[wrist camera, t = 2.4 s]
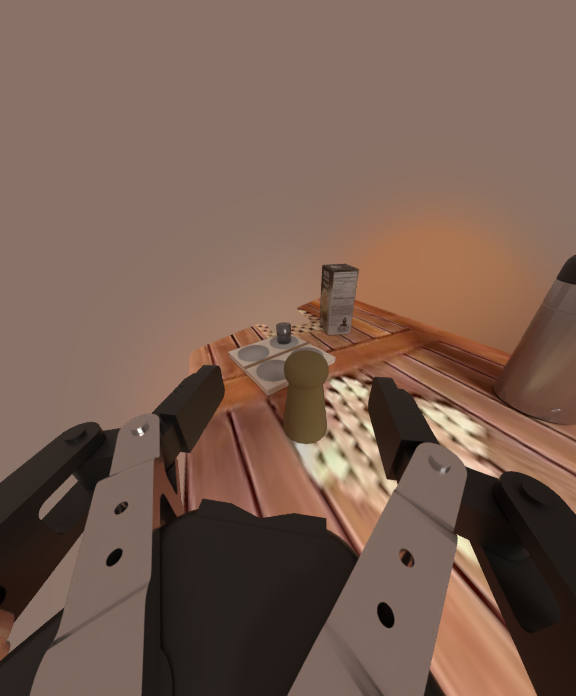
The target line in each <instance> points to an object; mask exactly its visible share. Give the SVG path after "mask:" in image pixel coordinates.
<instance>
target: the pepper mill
mask: <svg viewBox="0 0 576 696" xmlns="http://www.w3.org/2000/svg"><path fill="white" fill-rule="evenodd" d="M328 371H329V367H328V363H327V361H326V359H325V358H324V356H322V355H321V354H319V353H317V352H314V351H310V350H302V351H297V352H294V353H292V354H290V355H289V356H288V358H287V359H286V361H285V364H284V375H285V378H286V380H287V382H288V390H287V398H286V406H285V413H284V421H283V428H284V431H285V433H286V435H287V436H288V437H289V438H290V439H292V440H293V441H296V442H298V443H303V444H309V443H314V442H316V441H318V440H320V439H321V438H322V437H323V436H324V435H325V433H326V430H327V421H326V410H325V400H324V389H323V384H324V383H325V381H326V379H327V377H328Z"/></svg>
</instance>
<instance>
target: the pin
mask: <svg viewBox="0 0 576 696" xmlns="http://www.w3.org/2000/svg"><path fill="white" fill-rule="evenodd" d="M276 327H277V328H276V329H277V342H278V343H279V344H282V345H285V344H289V343H290V342H291V325H290V324H289V323H279V324H277V325H276Z"/></svg>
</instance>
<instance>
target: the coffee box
mask: <svg viewBox="0 0 576 696" xmlns="http://www.w3.org/2000/svg"><path fill="white" fill-rule="evenodd" d="M358 272H359V269H357V268H355V267H352V266H350V265H347V264H333V265H323V266H322V283H321V302H320V324H321V325H322V327H323V329H324V330H325V332H326V333H327V335H338V334H350V330H351V322H352V315H353V308H354V301H355V293H356V287H357V279H358Z"/></svg>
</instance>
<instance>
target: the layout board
mask: <svg viewBox="0 0 576 696" xmlns="http://www.w3.org/2000/svg"><path fill="white" fill-rule="evenodd" d="M302 350H310V351H314V352H317V353H319V354H321V355H322V356H324V358H325V359H326V361H327V363H328V366H329V365H331V364H333V363H335V357H334V356H332V355H330V354H328V353H326V352H324V351H322V350H321V349H319V348H317V347H315V346H313V345H311V344H310V343H309V342H306V341H304V340H302V339H300V338H298V337H296V336H294V335H292V334H291V342H290V343H289V344H285V345H282V344H279V343H278V342H277V336H274V337H271V338H268V339H265V340H262V341H259V342H256V343H253V344H250V345H247V346H244V347H241V348H238V349H235V350H232V351H229V352H228V353H229V357H230V358H231V359H232V360H233V361H234V362H235V363H236V364H237V365H238V366H239V367H240V368H241V369H242V370H243V371H244V372H245V373H246V374H247V375H248V376H249V377H250V378H251V379H252V380H253V381H254V382H255V383H256V384H257V385H258V386H259V387H260V389H261V390H262V391H263V392H264V393H265V394H266V395H267V396H269V395H271V394H273V393H275V392H277V391H279V390H281V389H283V388H285V387H287V386H288V382H287V380H286V378H285V375H284V364H285V361H286V359H287V358H288V356H289V355H290V354H292V353H294V352H297V351H302Z"/></svg>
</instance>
